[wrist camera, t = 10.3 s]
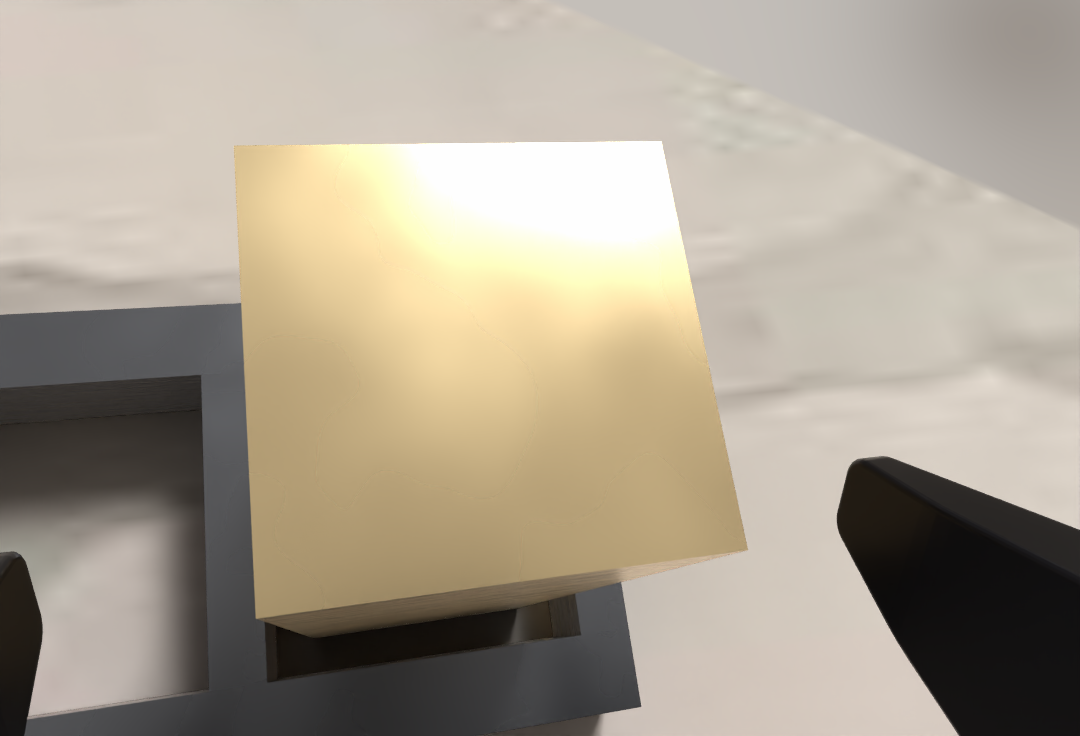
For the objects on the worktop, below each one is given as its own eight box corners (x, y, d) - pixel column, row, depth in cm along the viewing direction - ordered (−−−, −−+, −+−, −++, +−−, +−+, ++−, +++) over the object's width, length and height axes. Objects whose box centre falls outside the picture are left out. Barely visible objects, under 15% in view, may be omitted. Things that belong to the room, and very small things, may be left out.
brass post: (517, 608, 19) (748, 550, 8) (313, 638, 18) (257, 618, 7) (492, 418, 20) (660, 141, 9) (300, 435, 19) (233, 145, 8)
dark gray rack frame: (605, 699, 19) (641, 706, 17) (-176, 834, 15) (-270, 867, 13) (548, 326, 22) (572, 287, 19) (-132, 366, 18) (-203, 324, 16)
